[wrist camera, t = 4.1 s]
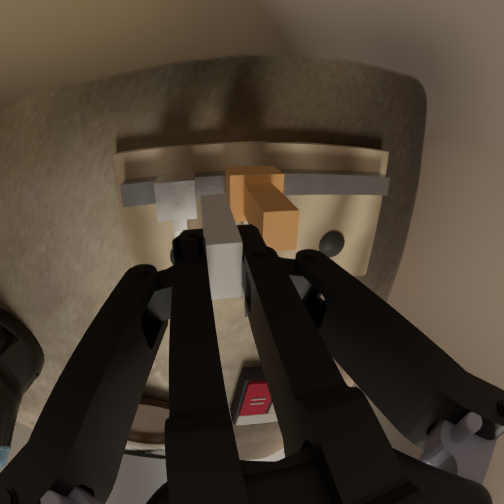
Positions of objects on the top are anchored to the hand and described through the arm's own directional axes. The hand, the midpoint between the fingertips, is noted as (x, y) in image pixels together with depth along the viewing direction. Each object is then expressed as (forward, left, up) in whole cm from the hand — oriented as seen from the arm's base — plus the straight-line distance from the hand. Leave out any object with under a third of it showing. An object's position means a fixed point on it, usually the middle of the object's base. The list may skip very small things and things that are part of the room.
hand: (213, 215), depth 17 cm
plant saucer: (-17, -44, -11) cm, 48 cm away
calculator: (+7, -37, -11) cm, 40 cm away
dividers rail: (+5, -3, -9) cm, 11 cm away
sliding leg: (+3, -3, -8) cm, 9 cm away
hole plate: (+5, -5, -10) cm, 12 cm away
